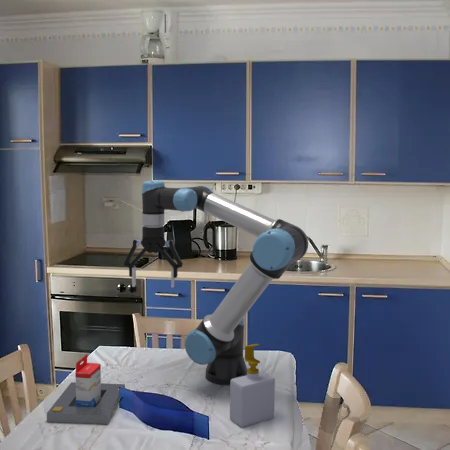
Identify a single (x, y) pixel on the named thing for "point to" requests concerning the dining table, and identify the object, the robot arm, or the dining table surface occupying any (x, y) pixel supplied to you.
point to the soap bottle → (252, 394)
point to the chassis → (98, 414)
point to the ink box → (87, 383)
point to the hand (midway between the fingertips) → (153, 286)
